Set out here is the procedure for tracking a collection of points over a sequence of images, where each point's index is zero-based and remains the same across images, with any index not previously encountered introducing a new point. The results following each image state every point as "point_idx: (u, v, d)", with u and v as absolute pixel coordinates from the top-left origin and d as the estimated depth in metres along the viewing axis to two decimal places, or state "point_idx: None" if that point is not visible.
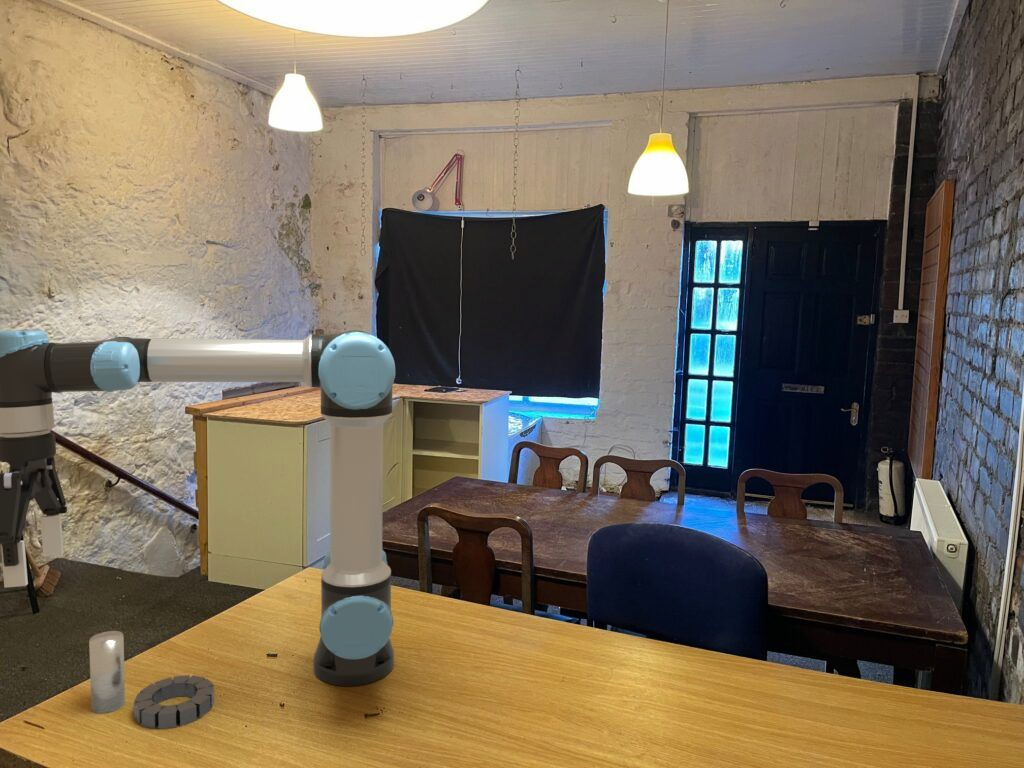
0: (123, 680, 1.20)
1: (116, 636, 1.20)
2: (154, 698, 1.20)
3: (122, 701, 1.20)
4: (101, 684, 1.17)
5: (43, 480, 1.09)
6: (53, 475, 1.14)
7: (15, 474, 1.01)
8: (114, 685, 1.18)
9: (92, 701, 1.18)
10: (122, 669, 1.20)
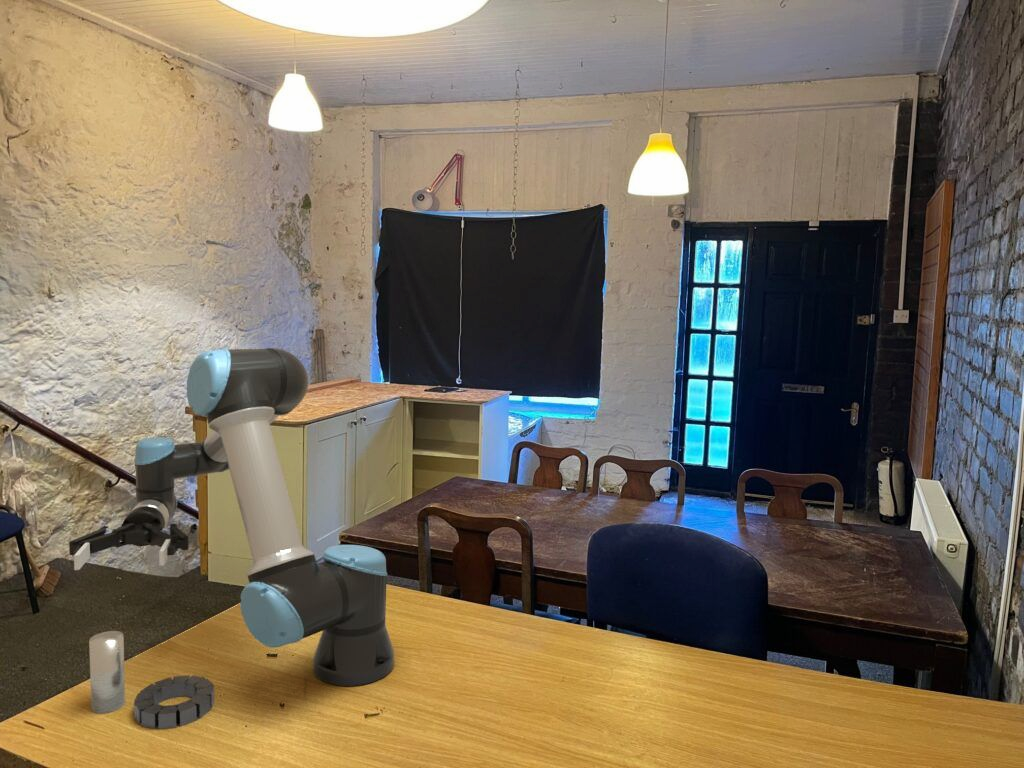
0: (123, 680, 1.20)
1: (116, 636, 1.20)
2: (154, 698, 1.20)
3: (122, 701, 1.20)
4: (101, 684, 1.17)
5: (146, 528, 1.40)
6: (171, 528, 1.41)
7: None
8: (114, 685, 1.18)
9: (92, 701, 1.18)
10: (122, 669, 1.20)
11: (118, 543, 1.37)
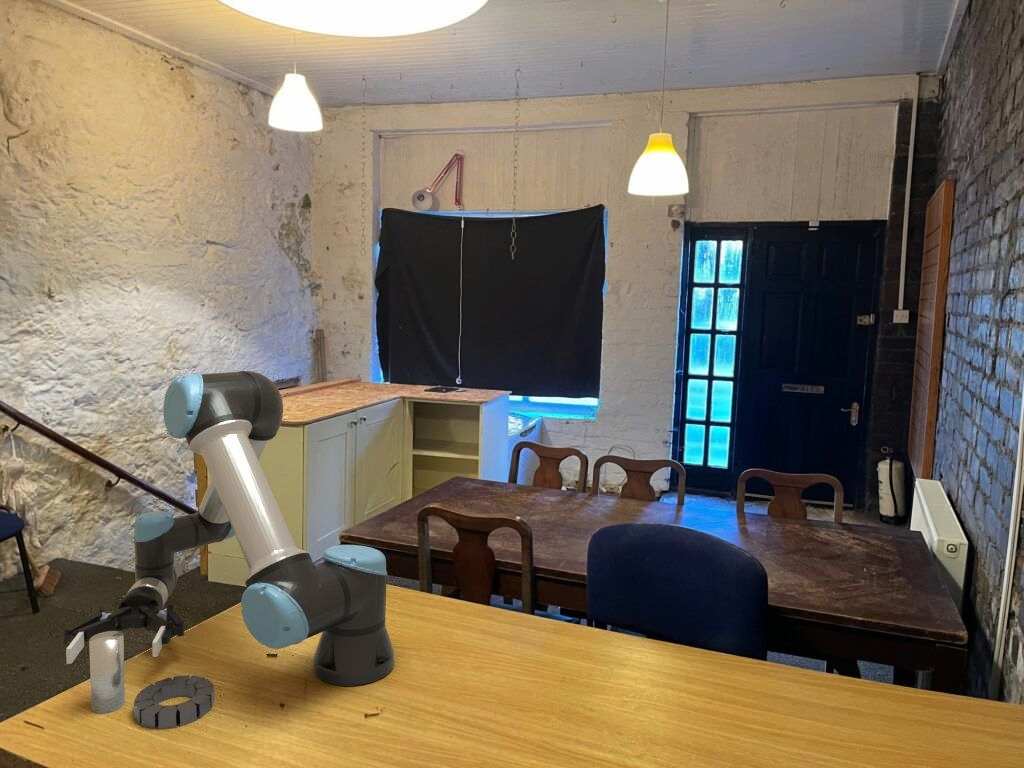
0: (123, 680, 1.20)
1: (117, 636, 1.20)
2: (154, 698, 1.20)
3: (122, 701, 1.20)
4: (101, 684, 1.17)
5: (142, 612, 1.37)
6: (167, 611, 1.38)
7: None
8: (114, 685, 1.18)
9: (92, 701, 1.18)
10: (122, 669, 1.20)
11: (114, 628, 1.35)
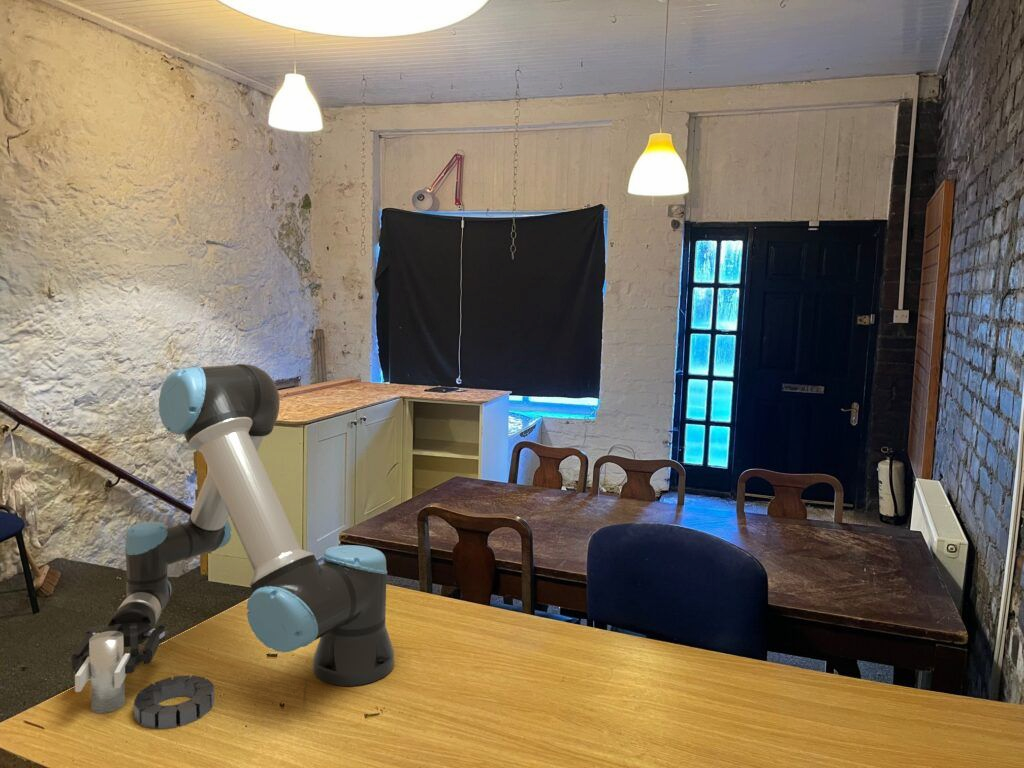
0: None
1: (116, 636, 1.20)
2: (154, 698, 1.20)
3: (122, 701, 1.20)
4: (100, 684, 1.17)
5: (129, 630, 1.30)
6: (151, 632, 1.29)
7: None
8: None
9: (92, 701, 1.18)
10: None
11: None
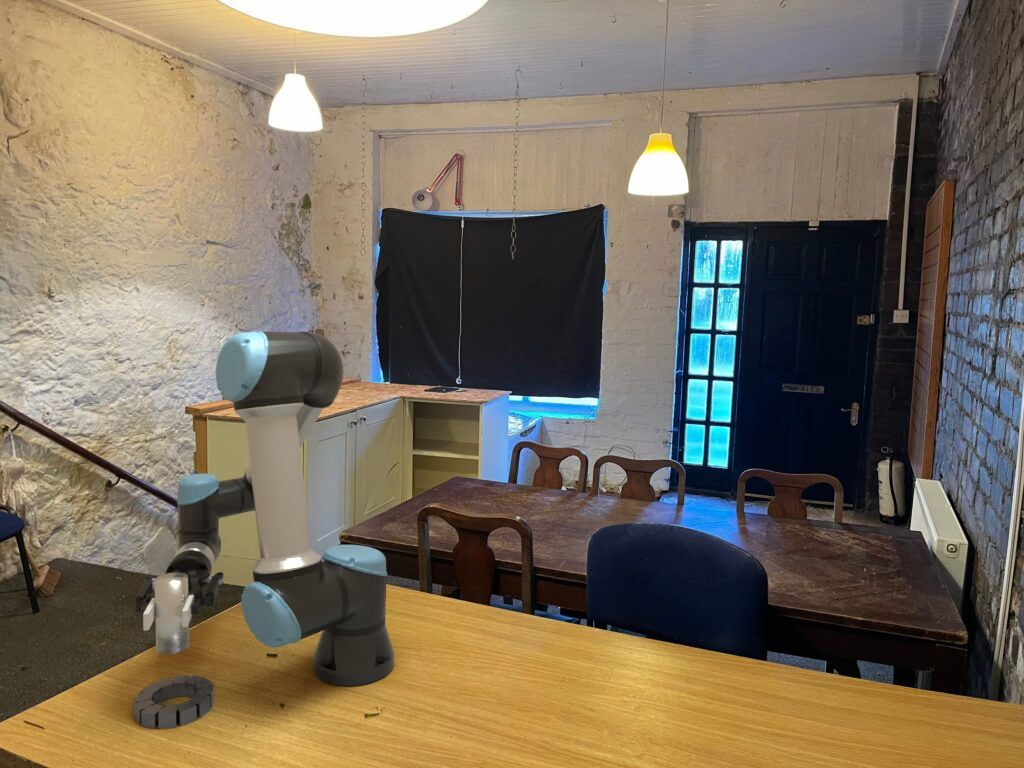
0: None
1: (181, 576, 1.18)
2: (154, 698, 1.20)
3: (187, 643, 1.19)
4: (167, 624, 1.16)
5: (189, 576, 1.28)
6: (211, 578, 1.28)
7: (144, 578, 1.27)
8: (180, 625, 1.17)
9: (157, 641, 1.17)
10: None
11: None
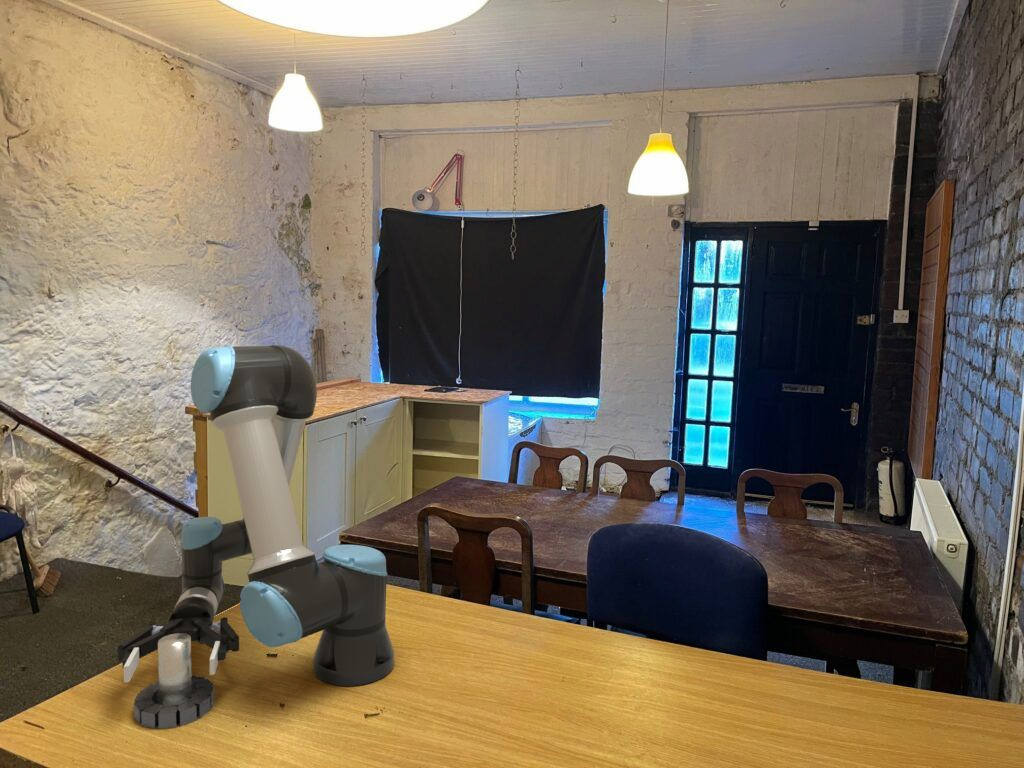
0: (190, 682, 1.20)
1: (184, 638, 1.20)
2: (154, 698, 1.20)
3: None
4: (170, 686, 1.17)
5: (195, 625, 1.29)
6: (221, 624, 1.30)
7: None
8: (182, 687, 1.18)
9: (160, 703, 1.18)
10: (190, 671, 1.20)
11: None
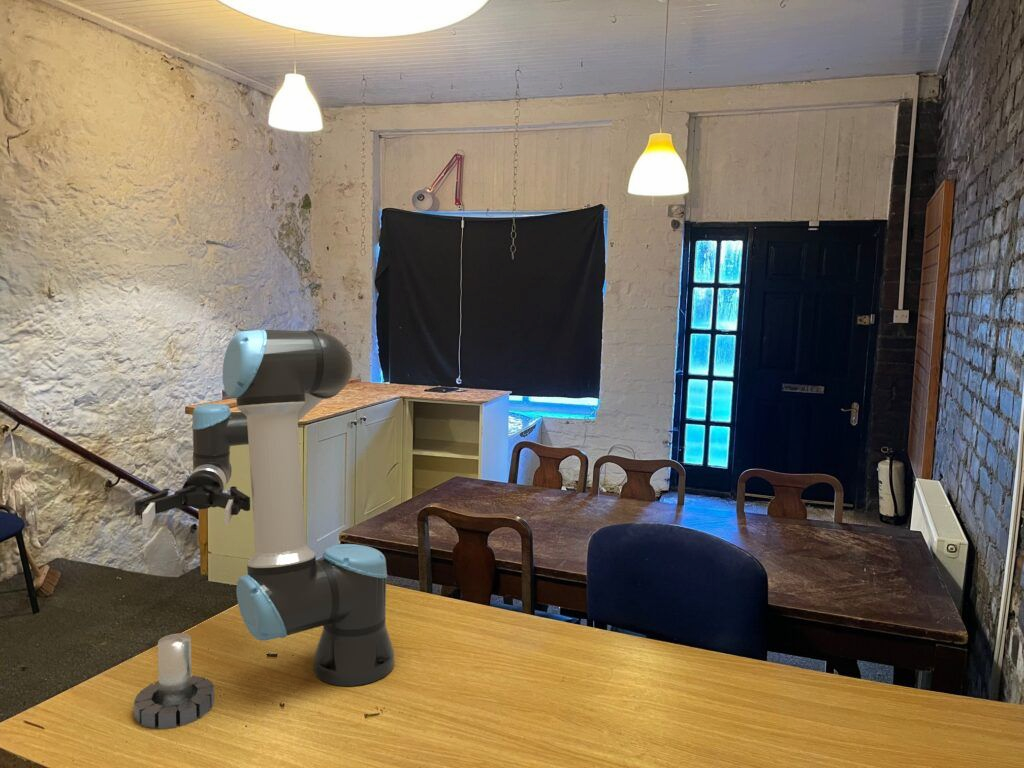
0: (190, 682, 1.20)
1: (184, 638, 1.20)
2: (154, 698, 1.20)
3: None
4: (170, 686, 1.17)
5: (207, 490, 1.41)
6: (231, 490, 1.42)
7: None
8: (182, 687, 1.18)
9: (160, 703, 1.18)
10: (190, 671, 1.20)
11: (181, 504, 1.38)
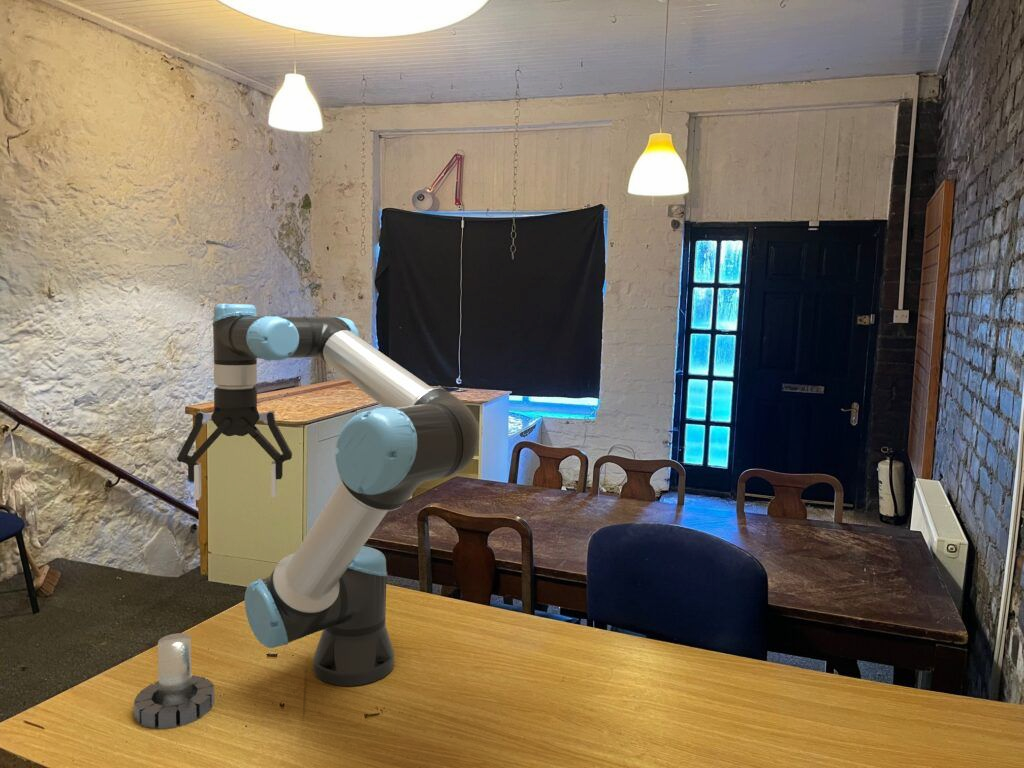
0: (190, 682, 1.20)
1: (184, 638, 1.20)
2: (154, 698, 1.20)
3: None
4: (170, 686, 1.17)
5: (244, 428, 1.33)
6: (269, 428, 1.34)
7: (197, 413, 1.31)
8: (182, 687, 1.18)
9: (160, 703, 1.18)
10: (190, 671, 1.20)
11: None
